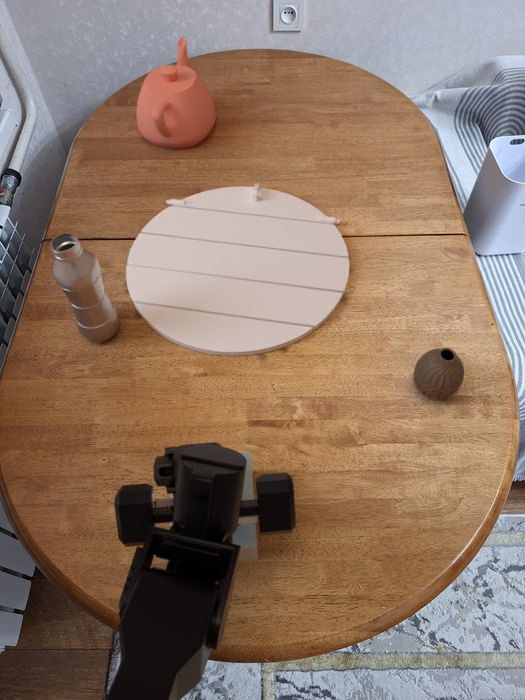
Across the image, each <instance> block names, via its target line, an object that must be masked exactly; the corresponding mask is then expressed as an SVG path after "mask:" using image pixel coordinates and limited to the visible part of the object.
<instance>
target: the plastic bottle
mask: <svg viewBox="0 0 525 700" xmlns="http://www.w3.org/2000/svg"><path fill="white" fill-rule="evenodd" d="M50 249H51V251H52V254H53V255H52V256H53V257H54V258H55V259H54V262H53V265H52V275H53V279H54V281H55V282H56V284H57V285H58V287H59V288H60V289H61V290H62V292H63V293H64V294H65V296H66V298H67V299H68V302H69V303H70V305H71V307H72V311H73V313H74V316H75V323H76V327H77V330H78V332H79V333H80V334H81V335H82V336H83V338H85V339H86V341H87V340H88V341H89V342H93V343H102V342H106V341H107V340H109V339H111V338H113V336H114V335H115V334H116V333H117V331H118V329H119V327H120V316H119V312H118V310H117V309H116V307H115V306H114V304H113V303H112V302H111V300H110V298H109V296H108V294H107V291H106V289H105V285H104V282H103V278H102V272H101V271H102V270H101V266H100V262H99V260H98V258H97V257H96V255H94V253H92V252H91V251H90V250H88V249H85V248H83V246H82V243H81V242H80V241H79V238H78V236H77V235H76V234H75V233H73V232H62V233H59V234H57V235H55V237H53V238H52V239H51V241H50Z"/></svg>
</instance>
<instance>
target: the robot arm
mask: <svg viewBox="0 0 525 700" xmlns="http://www.w3.org/2000/svg"><path fill="white" fill-rule="evenodd" d="M241 453H242V452H239V451H237V450H235V449H233V448H229V447H227V446H223V445H222V444H221V443H219V442H216V441H212V442H198V443H188V444H187V443H185V444H181V445H179V446H168V447H167V446H166V447H164V454H163V455H159V456H156V457H155V459H154V462H153V466H152V469H153V470H152V471H153V480H154V483H155V484H156V486H157V487H165V490H166V494H167V495H172V497H167V498H165V497H164V498H155V499H154V500H153V493H154V486H153V485H152V484H149V483H136V484H124V485H122V486H121V487H120V488H119V489H118V490H117V492H116V494H115V496H114V504H113V507H114V513H115V521H116V529H117V537H118V541H120V543H121V544H123V545H124V547H126V548H131V547H136V548H135V551H134V554H133V557H132V560H131V564H130V566H129V571H128V572H127V576H126V579H125V582H124V586H123V587H122V592H121V594H120V598H119V601H118V609H119V611H118V616H119V622H118V637H119V638H118V639H119V652H120V663H119V665H118V668H117V670H116V673H115V675H114V678H113V680H112V683H111V685H110V687H109V690H108V692H107V694H106V696H105V699H104V700H182V699H183V698H184V697H186V695H188V694H189V693H190V692H191V691H192V690H193V689H194V688H195V687H196V686H198V685H199V684H200V683H201V682H202V679H203V676H204V674H205V670H206V667H207V664H208V661H209V658H210V654H211V652H212V650H214V651H219V649H220V647H221V644H222V641H223V639H224V638H223V637H224V633H225V631H226V630H225V629H226V627H227V620H228V616H229V612H230V607H231V601H232V597H233V592H234V587H235V583H236V578H237V573H238V568H239V562H240V561H239V556H240V549H241V545H237V544H233V533H234V532H235V531H236V530H237V527H238V526H240V525H241V524H249V523H256V524H257V523H258V527H259V528H258V529H259V537H262V536H263V537H264V536H275V535H287V534H289V535H290V534H292V533H293V531H294V530H295V529H296V527H297V520H296V519H297V518H296V503H295V502H296V501H295V489H294V481H293V477H292V476H291V474H289V473H288V472H274V473H273V472H272V473H262V474H260V475H258V476H256V477H255V487H256V498H254V500H243V501H242V492H243V485H244V478H245V471H246V464H247V460H246V458H245V457H244V456H243V455H242V454H241ZM172 522H173V525H172V524H171V526H170V527H169V529H168V528H163V527H160V526H157V525H156V524H168V523H172ZM154 557H156V558H158V559H162V560H167V563H166V567H165V568H161V567H158V566H153V567H152V565H153V562H154Z"/></svg>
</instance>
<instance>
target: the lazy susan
mask: <svg viewBox="0 0 525 700" xmlns="http://www.w3.org/2000/svg"><path fill="white" fill-rule="evenodd" d="M166 205H169V206H167V207H165V208H164V209H163V210H161V211H160V212H159V213H157V214H156V215H155V216H154V217H153V218H151V220H149V221H148V222H147V224H146V225H144V227H143V228H142V229H141V230H140V233H138V235H137V237H136V238H135V240H134V241H133V243H132V245H131V247H130V251H129V253H128V256H127V260H126V261H127V262H126V267H125V278H126V286H127V289H128V293H129V296H130V299H131V301H132V303H133V304H132V305H134V308H135V310H136V311H137V312H138V314H139V315H140V317H141V318H142V319H143V321H144V322H145V323H146V324H148V326H149V327H150V328H151V329H152V330H154V331H155V332H156V333H157V334H158V335H160V336H161V337H163V338H165V339H167V340H168V341H170V342H172V343H174V344H176V345H177V346H180V347H182V348H185V349H188V350H191V351H195V352H198V353H202V354H207V355H214V356H224V357H242V356H254V355H260V354H265V353H269V352H273V351H277V350H279V349H282V348H285V347H288V346H290V345H293V344H295V343H296V342H298V341H301V340H302V339H304V338H306V337H307V336H309V335H311V334H312V333H313V332H314V331H316V330H317V329H319V328H320V327H321V326H322V325H324V323H325V322H326V321H327V320H328V319H329V318H330V317H331V316H332V315H333V314H334V312H335V311H336V310H337V308H338V307H339V305H340V303H341V301H342V299H343V298H344V297H343V296H344V295H345V292H346V289H347V285H348V282H349V275H350V258H349V257H350V255H349V251H348V247H347V244H346V241H345V239H344V237H343V236H342V233H341V232H340V230H339V229H338V228H337V226H336V224H337V225H340V223H341V222H340V221H341V219H339V218H337V217H335V216H327V215H326V214H325V213H324V212H322V211H321V210H320V209H318V208H317V207H315V206H314V205H312V204H311V203H309V202H307V201H305V200H303V199H302V198H299V197H297V196H295V195H292V194H290V193H286V192H285V191H284V192H283V191H279V190H276V189H271V188H265V187H262V183H259V182H255V183H254V185H253V186H227V187H220V188H213V189H209V190H205V191H201V192H199V193H195V194H192V195H189V196H187V197H184V198H183V199H176V198H171V199H166Z"/></svg>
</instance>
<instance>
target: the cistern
mask: <svg viewBox="0 0 525 700" xmlns="http://www.w3.org/2000/svg"><path fill="white" fill-rule="evenodd" d="M240 453H241V454H242V455H243V456H244V457H245V458H246V460H247V464H246V471H245V478H244V485H243V492H242V501H243V500H255V488H254V486H255V485H254V472H253V462H252V452H251V451H244V452H240ZM172 525H173V522H171V526H172ZM233 544H237V545H241V549H240V556H239V562H247V561H258V560H259V550H258V549H259V548H258V547H259V546H258V533H257V523H249V524H241V525H240V526H238V527H237V530H236V531H235V532H234V533H233Z"/></svg>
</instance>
